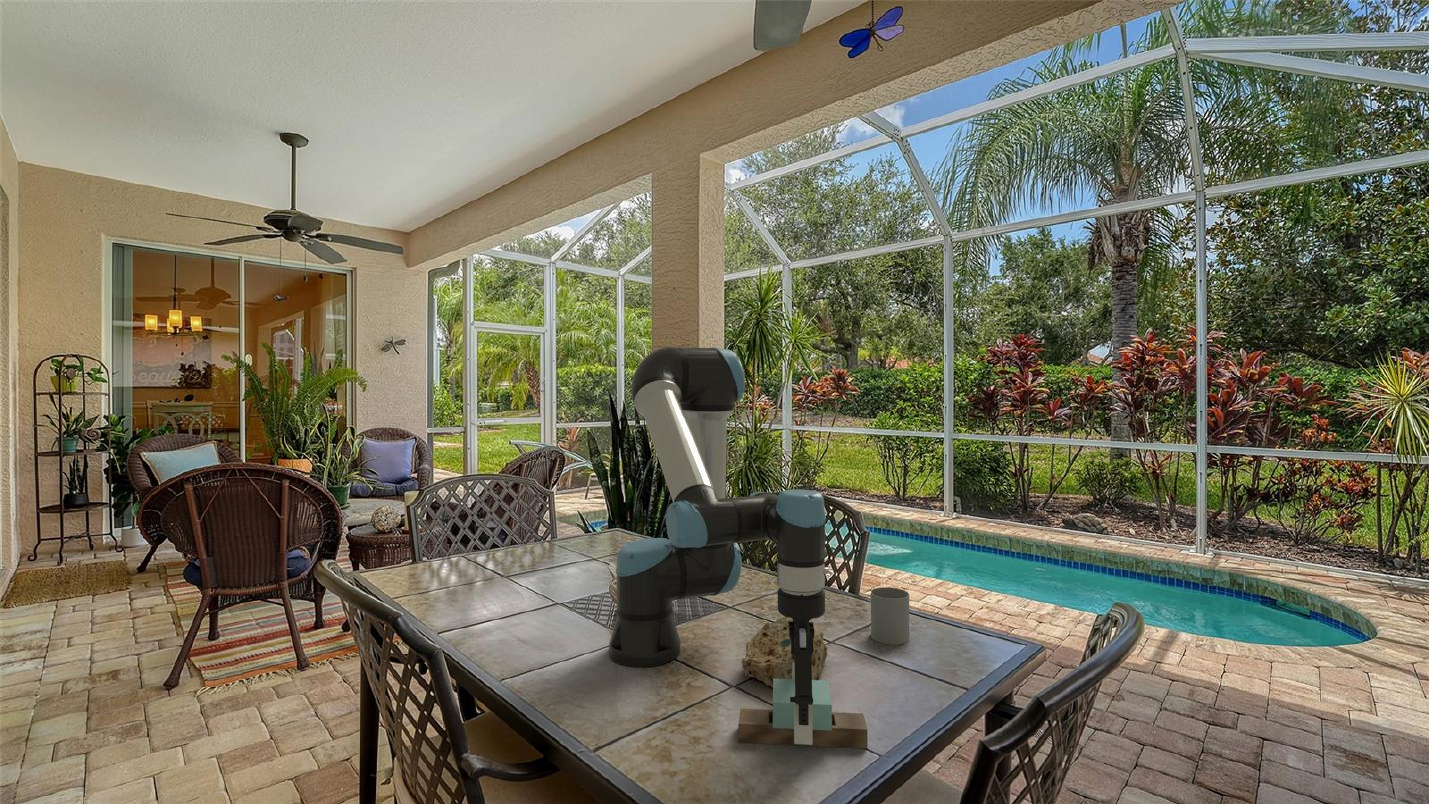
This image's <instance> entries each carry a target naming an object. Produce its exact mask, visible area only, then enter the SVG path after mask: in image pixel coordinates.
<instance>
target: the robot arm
mask: <svg viewBox="0 0 1429 804" xmlns="http://www.w3.org/2000/svg"><path fill="white" fill-rule="evenodd" d="M745 378H746V377H745V371H744V368H743V365H742V362H741V360H740V358H739V357H738V355H737V353H735V352H734V351H733V350H730V349H727V348H718V347H675V346H674V347H673V346H671V347H670V346H668V347H661V348H659V349H656V350H654V351H652V352H651V353H649V354H648V355H647V356H645V357H644V358H643V359H642V361H641V362H640V363H639V364H638V366H637V367H636V369H635V371H634V374H633V376H632V380H631V387H630V388H631V398H632V402H633V404H634V407H635V409H636V411H637V412H638V414H640V415H641V416H643V417H644V420H645V425H646V427H647V430H648V433H649V436H650V438H651V441H652V444H653V447H654V451H655V453H656V456H657V459H658V461H659V465H660V467H661V471H662V474H663V476H664V479H665V482H666V485H667V488H668V491H669V493H670V497H671V500H672V503H670V504H669V505H668V507H667V510H666V512H665V513H666V514H665V525H666V534H667V537H668V538H664V537H656V538H654V537H651V538H650V537H649V538H643V539H639V540H635V541H632V542H629V543H627V544H625V545H624V546H623V547H621V548H620V549H619V551H618V553H617V556H616V566H615V575H616V620H615V623H614V626H613V630H612V633H611V637H610V640H609V644H608V656H609V658H610V659H611V660H612V662H615V663H616V664H620V665H623V666H627V667H628V666H629V667H636V668H637V667H639V668H641V667H642V668H643V667H645V668H646V667H654V666H659V665H663V664H666V663H667V664H668V663H669V662H672V661H673V660H675V659H676V658H678V657H679V656H680V654H681V651H682V650H681V642H682V641H681V638H680V635H679V631H678V629H677V626H676V623H675V619H674V616H673V602H674V601H677V600H685V599H692V598H694V599H695V598H703V597H708V596H709V597H714V596H715V597H716V596H718V595H720V594H727V593H729V592H731V591H733V589H734V588H735V587H736V586H737V584H738V582H739V580H740V576H741V572H742V563H743V561H742V555H741V548H740V546H739V544H740V543H747V542H754V541H755V542H756V541H765V540H767V541H768V540H769V541H771V542H773V543H775V544H776V546H777V551H776V552H777V561H776V576H777V578H776V583H777V586H778V587H779V588H778V590H777V611H778V613H779V614H781V615H782V617H788V618H789V617H790V618H792V619H793V621H789V638H790V639H791V655H792V657H793V659H794V661H792V679H795V696H794V697H790V702H793V703H794V744H806V745H813V737H812V704H813V697H812V662H811V660H812V656H813V640H814V628H813V625H814V621H811V620H813V619H818V618H821V617H822V616H824V615H825V612H826V592H825V590H824V588H825V586H826V585H825V583H826V579H825V575H828V574H829V573H830V571H829V568H828V567H825V561H826V560H825V558H826V520H827V516H826V513H825V499H824V496H823V495H822V493H821V492H819V491H817V490H811V489H810V490H809V489H786V490H783V491H780V492H779V493H778V494H775V493H773V492H770V491H769V492H768V491H767V492H764V491H755V492H753V493H750V494H749V495H748V496H739V497H726V491H727V490H726V485H727V484H726V481H727V480H726V479H727V477H726V476H727V431H728V430H727V428H728V427H727V423H728V422H727V420H728V418H729V417H730V416H731V415H732V414H733V413H734V412H735V403H737V402H740V401H741V400H742V399H743V397H744V393H745V389H746V379H745ZM738 543H739V544H738Z"/></svg>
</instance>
